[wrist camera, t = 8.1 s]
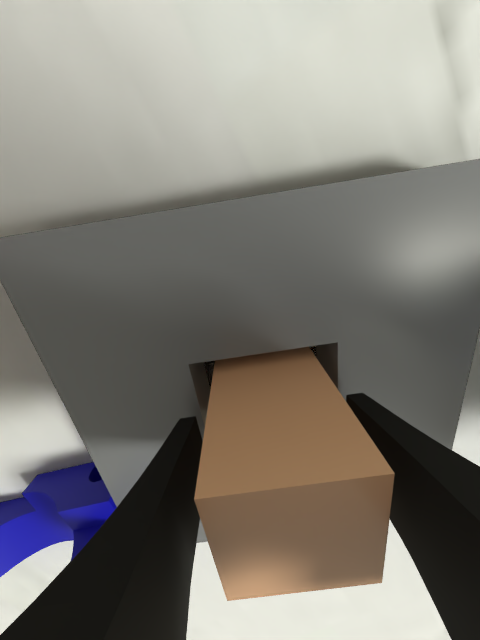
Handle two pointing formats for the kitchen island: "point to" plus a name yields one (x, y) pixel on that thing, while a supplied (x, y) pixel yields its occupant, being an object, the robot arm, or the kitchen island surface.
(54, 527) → the cable clip
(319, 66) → the kitchen island surface
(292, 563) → the plug
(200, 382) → the socket plate
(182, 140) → the kitchen island surface
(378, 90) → the kitchen island surface
